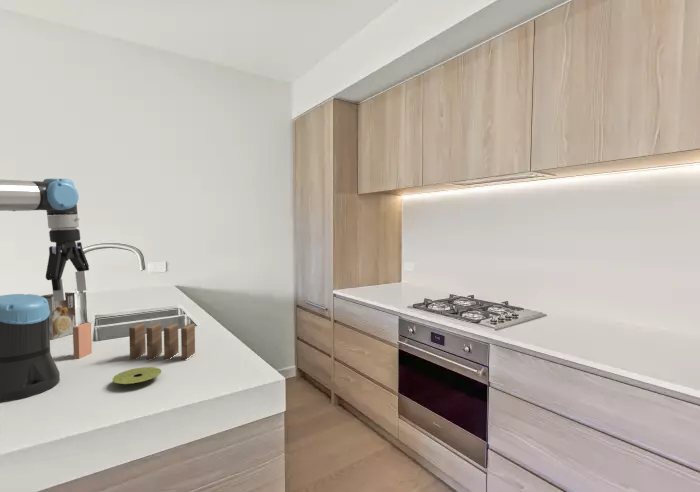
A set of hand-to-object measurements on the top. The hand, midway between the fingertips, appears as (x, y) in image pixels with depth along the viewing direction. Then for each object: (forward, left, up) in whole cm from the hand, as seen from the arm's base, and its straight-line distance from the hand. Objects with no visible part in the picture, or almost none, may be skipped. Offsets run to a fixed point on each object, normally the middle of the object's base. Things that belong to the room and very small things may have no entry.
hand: (71, 295), depth 115 cm
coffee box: (+28, +15, -20) cm, 37 cm away
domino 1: (-1, -3, -20) cm, 20 cm away
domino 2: (-7, -20, -20) cm, 29 cm away
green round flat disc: (-29, -25, -20) cm, 43 cm away
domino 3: (-9, -25, -20) cm, 33 cm away
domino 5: (-13, -35, -20) cm, 42 cm away
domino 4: (-11, -30, -20) cm, 38 cm away
